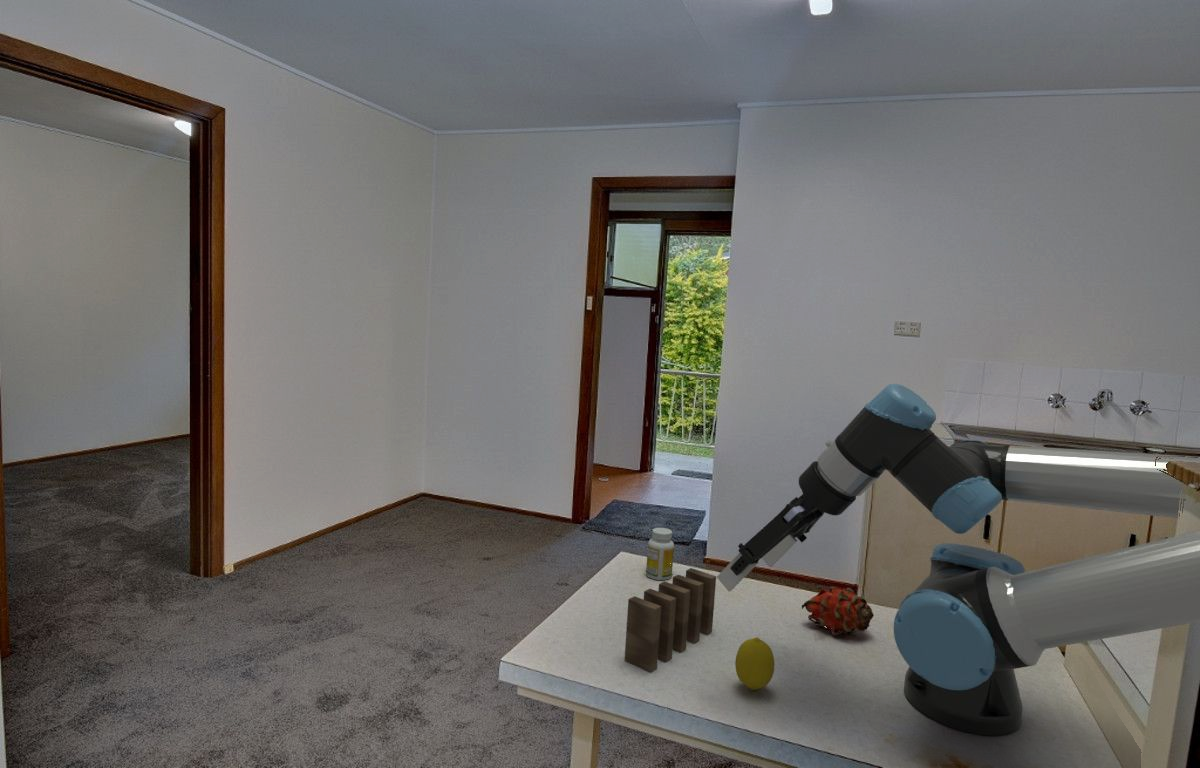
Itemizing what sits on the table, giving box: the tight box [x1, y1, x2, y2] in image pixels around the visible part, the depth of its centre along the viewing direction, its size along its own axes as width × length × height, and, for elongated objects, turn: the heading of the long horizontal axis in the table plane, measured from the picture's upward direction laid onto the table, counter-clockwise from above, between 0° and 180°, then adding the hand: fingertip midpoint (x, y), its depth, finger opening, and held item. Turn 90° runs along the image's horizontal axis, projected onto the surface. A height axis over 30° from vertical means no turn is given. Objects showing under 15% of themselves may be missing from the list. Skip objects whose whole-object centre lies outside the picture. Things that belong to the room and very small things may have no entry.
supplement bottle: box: [645, 527, 675, 581], centre depth 142 cm, size 5×5×10 cm
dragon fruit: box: [801, 586, 875, 636], centre depth 122 cm, size 8×8×12 cm
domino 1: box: [624, 595, 661, 673], centre depth 106 cm, size 5×2×10 cm, turn 51°
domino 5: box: [685, 567, 717, 636], centre depth 119 cm, size 5×2×10 cm, turn 51°
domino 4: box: [671, 574, 704, 645], centre depth 116 cm, size 5×2×10 cm, turn 51°
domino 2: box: [643, 588, 676, 663], centre depth 110 cm, size 5×2×10 cm, turn 51°
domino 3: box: [657, 580, 690, 654], centre depth 113 cm, size 5×2×10 cm, turn 51°
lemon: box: [735, 636, 775, 692], centre depth 101 cm, size 6×6×8 cm
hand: (745, 571), depth 106 cm, fingers open, 13 cm apart
